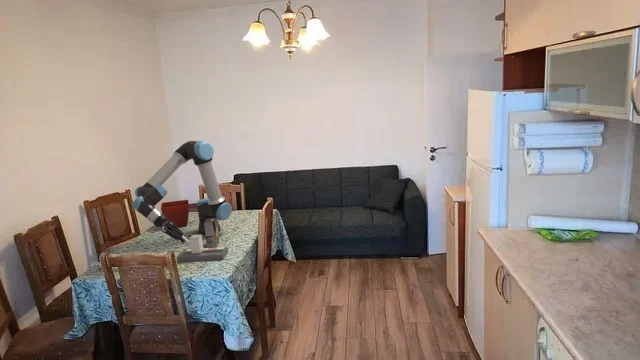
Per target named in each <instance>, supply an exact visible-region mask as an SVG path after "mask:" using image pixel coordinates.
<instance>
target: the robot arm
mask: <svg viewBox="0 0 640 360" xmlns="http://www.w3.org/2000/svg"><path fill="white" fill-rule="evenodd" d="M213 156H214V148H213V145H212V144H211V143H210V142H208V141H205V140H190V141H189V140H188V141H186V142H184V143H182V144H181V145H180V146H179V147H178V148H177V149H175V151H173V153H172V156H171V157H170V158H169V159H168V160H167V161H166V162H165V163H164V164H163V165H162V166H161V167H160V168H159V169H158V170H157V171H156V172H155V173H154V174H153V175H152V176H150V178H149V179H148V180H147V181H146V182H145V183H144V184H143V185H141V186H140V185H139V186H138V187H137V188H136V189H135V190H134V196H135V197H136V199H134V201H133V202H132V203H131V206H132V208H134V209H135V210H136V211H137V212H138V213H139V214H140V215H142V216H143V217H144V218H146V219H147V221H148V222H151V223H152V224H153V225H154V226H155V227H156V228H161V233H163V234H166V235H167V236H168V237H170V238H172V239H173V240H175V241H177V242H178V241H180V242H181V243H182V244H184V246H186V247H187V248H189V247H191V245H190V239H188V238H187V237H185V236H184V235H185V234H184V232H183V231H182V230H181V229H180V227H179V228H178V227H177V226H176V225H175V224H174V222H171V223H170V222H169V221H167V220H166V219H167V217H166V216H165V215H164V214H162V211H160V210H159V209H158V208H157V207H156V205H157V204H159V202H160V201H162V200H163V199H164V198H165V197H166V196H167V194H168V190H167V189H166V187H164V185H163V184H164V183H165V182H166V181H167V180H168V179H169V178H170V177H171V176H173V174H174V173H175V172H176V171H177V170H178V169H179V168H180V167H181V166H182V165H183V164H186V163H187V162H189V161H190V160H192V161H193V164H194V166H196V167H197V168H198V171H199V174H200V177H201V180H202V184H203V186H204V189H205V192H206V196H207V198H202V199H199V200H198V201H197V202H196V208H197V213H198V214H197V215H198V220H199V223H198V228H197V233H198V234H197V235H202V236H206V234H205V226H204V222H205V221H206V219H210V218H217V225H218V233H219V232H220V231H222V229H221V225H220V224H219V222H218V221H225V220H227V219H229V218H230V216H231V214H232V212H233V211H232V210H233V207H232V205H231V204H230V203H229V202H227V200H226V197H225V196H223V195H222V192H221V189H220V185H219V182H218V180H217V177H216V173H215V171H214V167H213V163H212V162H213V160H214V159H213Z"/></svg>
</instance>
